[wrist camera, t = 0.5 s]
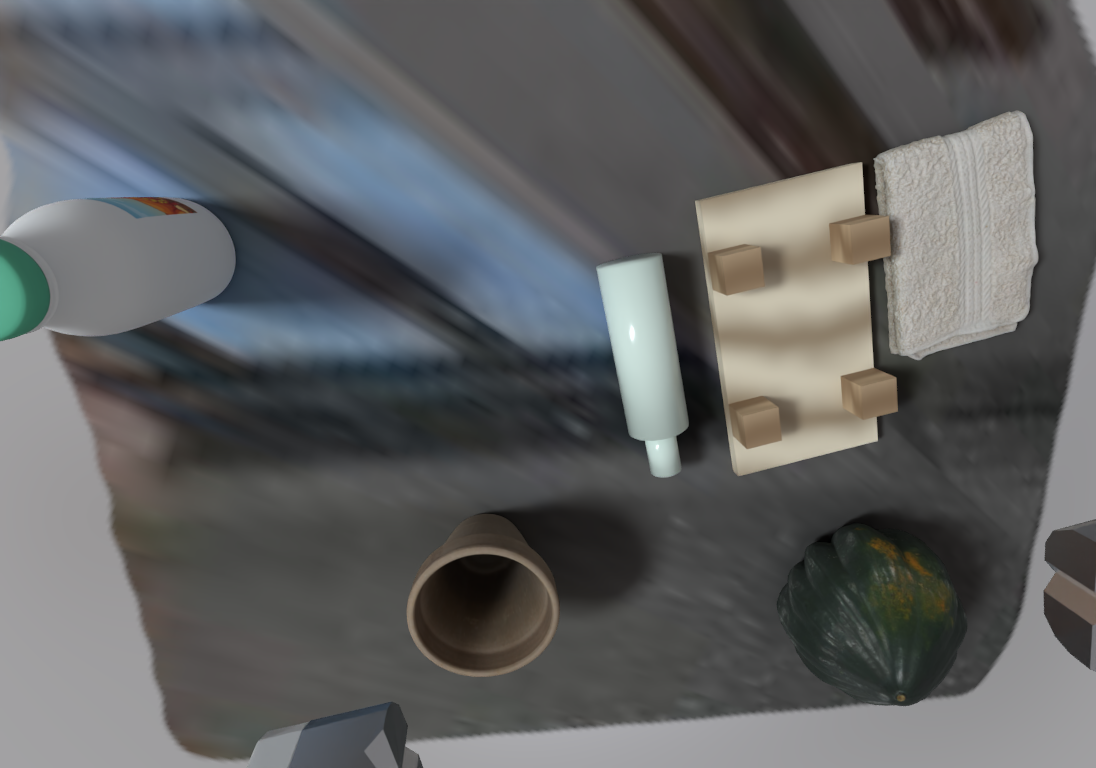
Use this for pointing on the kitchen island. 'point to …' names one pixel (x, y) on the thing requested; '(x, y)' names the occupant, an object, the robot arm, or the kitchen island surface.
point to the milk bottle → (110, 264)
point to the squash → (874, 615)
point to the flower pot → (483, 600)
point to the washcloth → (958, 235)
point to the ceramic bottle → (645, 355)
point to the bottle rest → (795, 316)
